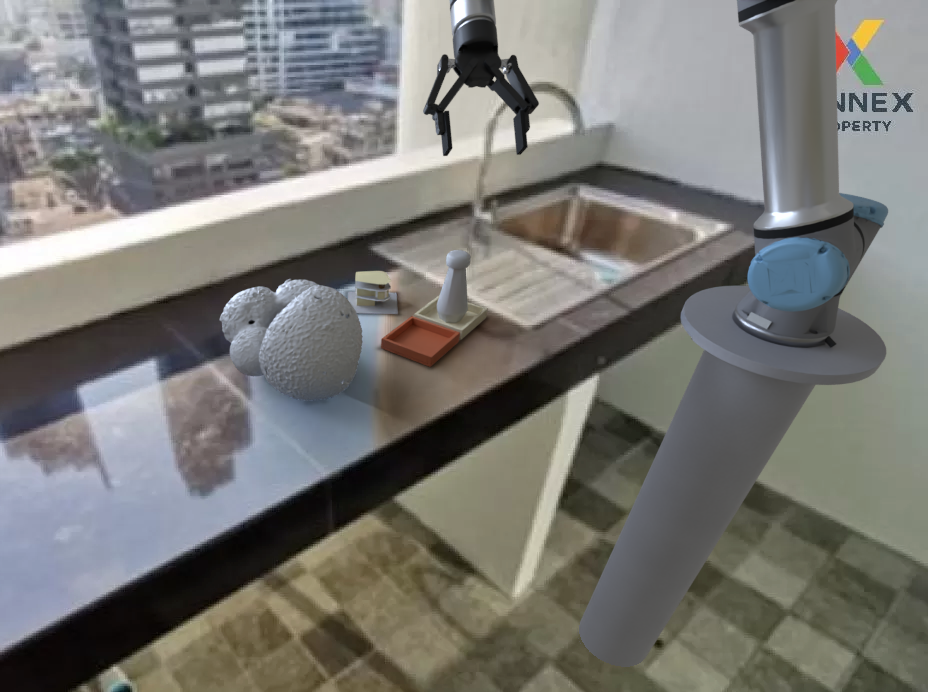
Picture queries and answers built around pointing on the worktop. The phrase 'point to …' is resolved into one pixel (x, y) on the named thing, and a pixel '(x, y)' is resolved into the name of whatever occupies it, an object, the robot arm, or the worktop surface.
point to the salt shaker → (454, 288)
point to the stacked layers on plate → (373, 293)
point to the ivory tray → (463, 326)
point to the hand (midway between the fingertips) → (485, 151)
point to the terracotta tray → (420, 340)
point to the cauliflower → (295, 338)
